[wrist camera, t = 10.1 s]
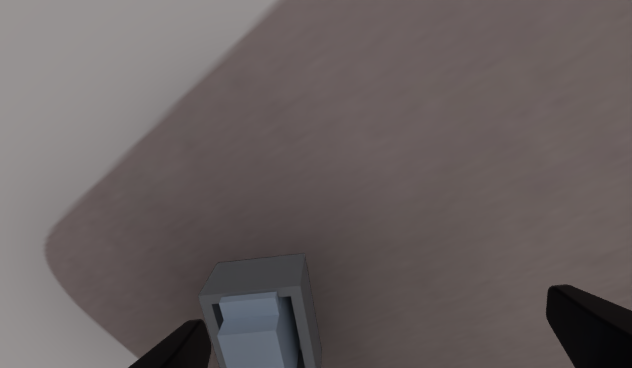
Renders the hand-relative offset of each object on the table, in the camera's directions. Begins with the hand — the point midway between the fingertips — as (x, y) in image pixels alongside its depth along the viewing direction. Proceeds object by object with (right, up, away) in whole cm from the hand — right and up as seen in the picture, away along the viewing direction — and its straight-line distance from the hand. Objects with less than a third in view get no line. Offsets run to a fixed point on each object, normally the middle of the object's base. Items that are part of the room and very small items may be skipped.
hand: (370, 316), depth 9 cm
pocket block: (-4, -5, +13) cm, 15 cm away
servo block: (-4, -5, +13) cm, 14 cm away
